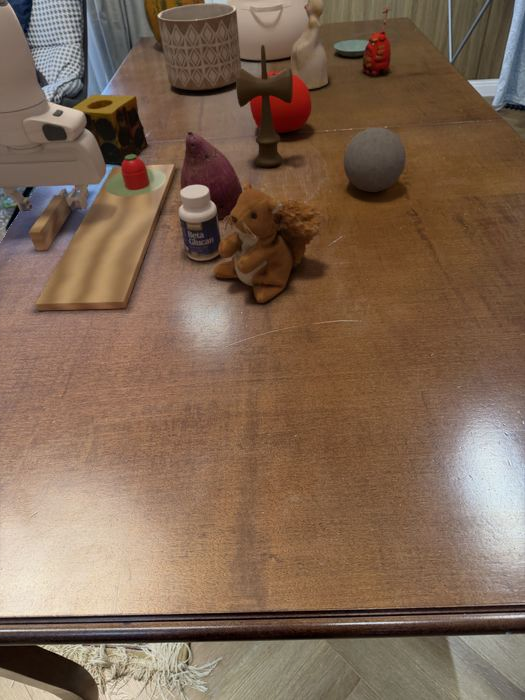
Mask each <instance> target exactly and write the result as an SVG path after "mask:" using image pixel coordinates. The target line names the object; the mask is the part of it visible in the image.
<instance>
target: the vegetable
mask: <svg viewBox="0 0 525 700" xmlns="http://www.w3.org/2000/svg"><path fill="white" fill-rule="evenodd" d="M190 185H203V186H206V187H207V188H208V189H209V193H210V201H212V202H213V203H214V204H215V205H216V208H217V216H218V220H224V218H225V217H226V216H228V215H230V213H231V211H232V210H233V208H234V207H235V206H236V204H237V201H238V198H239V196H240V195H241V193H242V192H243V189H242V185H241V181H240V178H239V176H238V175H237V173H236V170H235V167H234V166H233V165H232V164H231V162H230V160H229V159H228V158H227V156H226V155H224V154H223V153H222V152H221V151H220V150H219V149H218V148H217V147H215V146H214V145H212V144H211V143H210V142H208V141H207V140H206V139H205V138H204V137H203V136H201V135H200V134H199V133H197V132H193V131H191V130H189V129H188V130H187V134H186V136H185V151H184V158H183V163H182V168H181V171H180V189H181V190H182V189H183V188H185V187H187V186H190ZM181 190H180V191H181Z"/></svg>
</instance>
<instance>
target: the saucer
mask: <svg viewBox="0 0 525 700" xmlns="http://www.w3.org/2000/svg"><path fill="white" fill-rule="evenodd" d="M368 43H369V40H365V39H348V40H342V41H339V42H336V43H334V44H333V49H334V50H335V51H336V52H337V53H338V54H340V55H341V56H343V57H348V58H357V57H362V56H364V52H365V48H366V45H367V44H368Z"/></svg>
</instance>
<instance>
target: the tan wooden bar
mask: <svg viewBox="0 0 525 700" xmlns="http://www.w3.org/2000/svg"><path fill="white" fill-rule="evenodd" d="M89 195H90V192H89V188H87V191H86V195H85V198H86V199H87V198H88V197H89ZM76 196H79V191H76V189H75V187H74V188H72V189H71V191H70V192H69V194H68V191H67V188H62V189H61V190H60V191H59V192H58V194H54V195H53V196H52V198H51V200H50V201H49V202H48V203H47V205H46V206H45V208H44V209H43V211H42V212H41V213H40V216H39V217H38V218H37V219H36V221H35V222H34V223H33V225H32V227H31V229H30V230H29V231H28V234H29V236H30V239H31V242H32V244H33V246H34V248H35V251H48V249H49V248H50V246H51V245H52V243H53V242H54V240H55V238H56V236H57V235H58V233H59V232H60V230H61V228H62V227H63V226H64V224H65V222H66V220H67V219H68V217H69V215H70V214H71V213H72V212H73V211H74V210H75V209H76V208H75V205H74V203H73V200H74V199H75V197H76Z"/></svg>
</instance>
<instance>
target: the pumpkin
mask: <svg viewBox="0 0 525 700" xmlns="http://www.w3.org/2000/svg"><path fill="white" fill-rule="evenodd" d="M204 3H206V2H205V0H143V8H144V14H145V18H146V21H147V24H148V26H149V29H150V31H151V33H152V35H153V37H154V39H155V40H156V42H157V43H158V44H160V45H161V46H162V47H163V45H162V39H161V33H160V28H159V22H158V14H159V13H160V12H162V11H164V10H167V9H171V8H175V7H179V6H185V5H192V4H204Z"/></svg>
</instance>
